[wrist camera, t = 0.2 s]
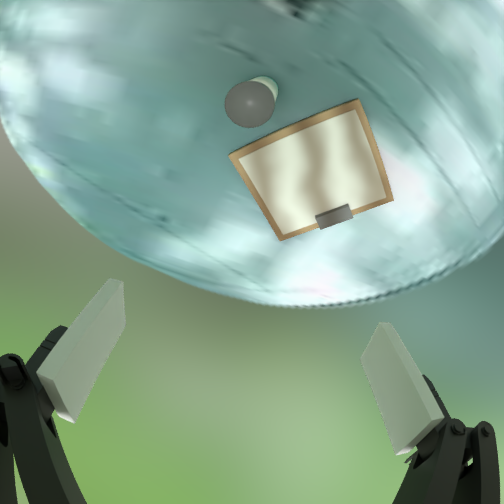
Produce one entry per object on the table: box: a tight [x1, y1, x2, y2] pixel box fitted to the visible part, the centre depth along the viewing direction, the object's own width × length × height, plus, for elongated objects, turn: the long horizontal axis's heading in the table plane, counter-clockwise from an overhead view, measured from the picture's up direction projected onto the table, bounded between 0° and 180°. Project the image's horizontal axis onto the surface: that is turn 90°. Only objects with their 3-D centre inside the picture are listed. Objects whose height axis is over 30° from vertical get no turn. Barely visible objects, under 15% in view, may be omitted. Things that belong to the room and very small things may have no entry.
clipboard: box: [228, 98, 394, 241], centre depth 35 cm, size 18×15×2 cm
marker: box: [225, 76, 278, 128], centre depth 24 cm, size 4×4×13 cm
